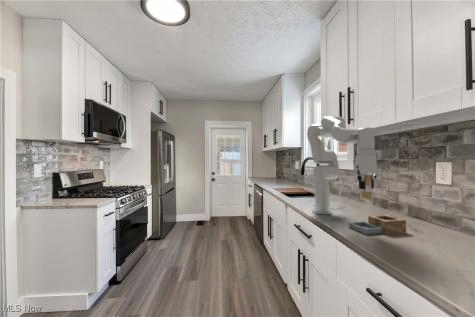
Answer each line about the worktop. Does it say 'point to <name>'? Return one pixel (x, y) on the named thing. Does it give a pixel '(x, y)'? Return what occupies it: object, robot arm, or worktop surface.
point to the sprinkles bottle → (367, 187)
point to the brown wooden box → (388, 223)
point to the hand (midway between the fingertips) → (366, 188)
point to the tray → (366, 228)
